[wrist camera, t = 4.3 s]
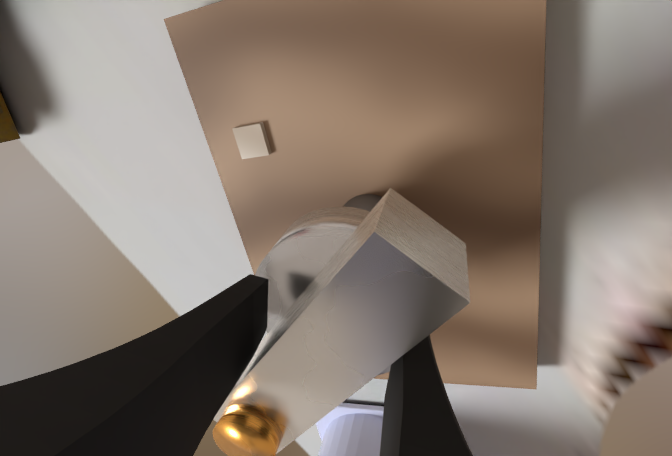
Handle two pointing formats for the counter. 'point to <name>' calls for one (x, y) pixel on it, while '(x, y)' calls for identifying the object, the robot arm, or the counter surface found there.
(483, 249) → the plate
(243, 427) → the lever with brass knob
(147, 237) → the counter surface
